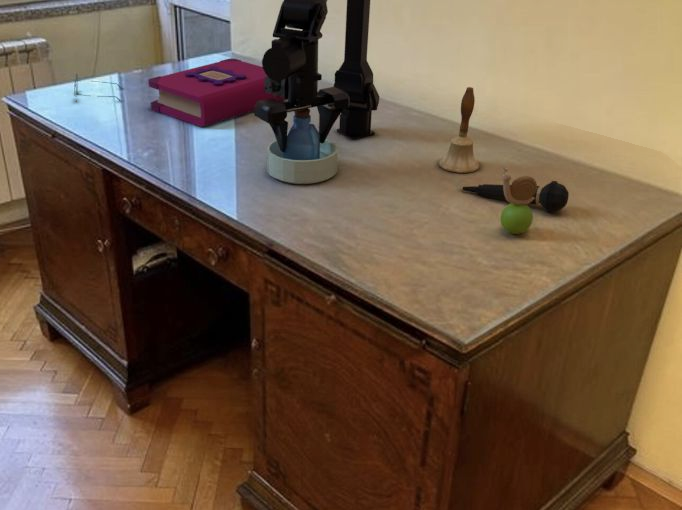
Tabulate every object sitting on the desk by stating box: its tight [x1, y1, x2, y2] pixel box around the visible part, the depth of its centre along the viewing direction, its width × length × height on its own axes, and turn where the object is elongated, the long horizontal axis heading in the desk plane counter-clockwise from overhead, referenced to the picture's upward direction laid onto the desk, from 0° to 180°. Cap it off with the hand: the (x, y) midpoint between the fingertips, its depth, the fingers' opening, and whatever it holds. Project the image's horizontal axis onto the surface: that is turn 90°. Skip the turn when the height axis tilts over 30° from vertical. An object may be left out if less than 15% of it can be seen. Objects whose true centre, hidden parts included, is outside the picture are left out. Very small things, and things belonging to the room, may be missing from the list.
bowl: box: [266, 138, 339, 185], centre depth 156 cm, size 14×14×5 cm
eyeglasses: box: [73, 72, 122, 102], centre depth 196 cm, size 11×13×5 cm
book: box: [147, 58, 287, 128], centre depth 190 cm, size 21×28×8 cm
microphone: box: [461, 180, 570, 214], centre depth 145 cm, size 6×6×20 cm
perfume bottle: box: [284, 108, 320, 160], centre depth 154 cm, size 6×6×12 cm
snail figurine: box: [500, 166, 538, 235], centre depth 132 cm, size 5×6×12 cm
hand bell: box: [438, 86, 480, 174], centre depth 156 cm, size 8×8×16 cm
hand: (302, 147), depth 155 cm, fingers open, 9 cm apart
